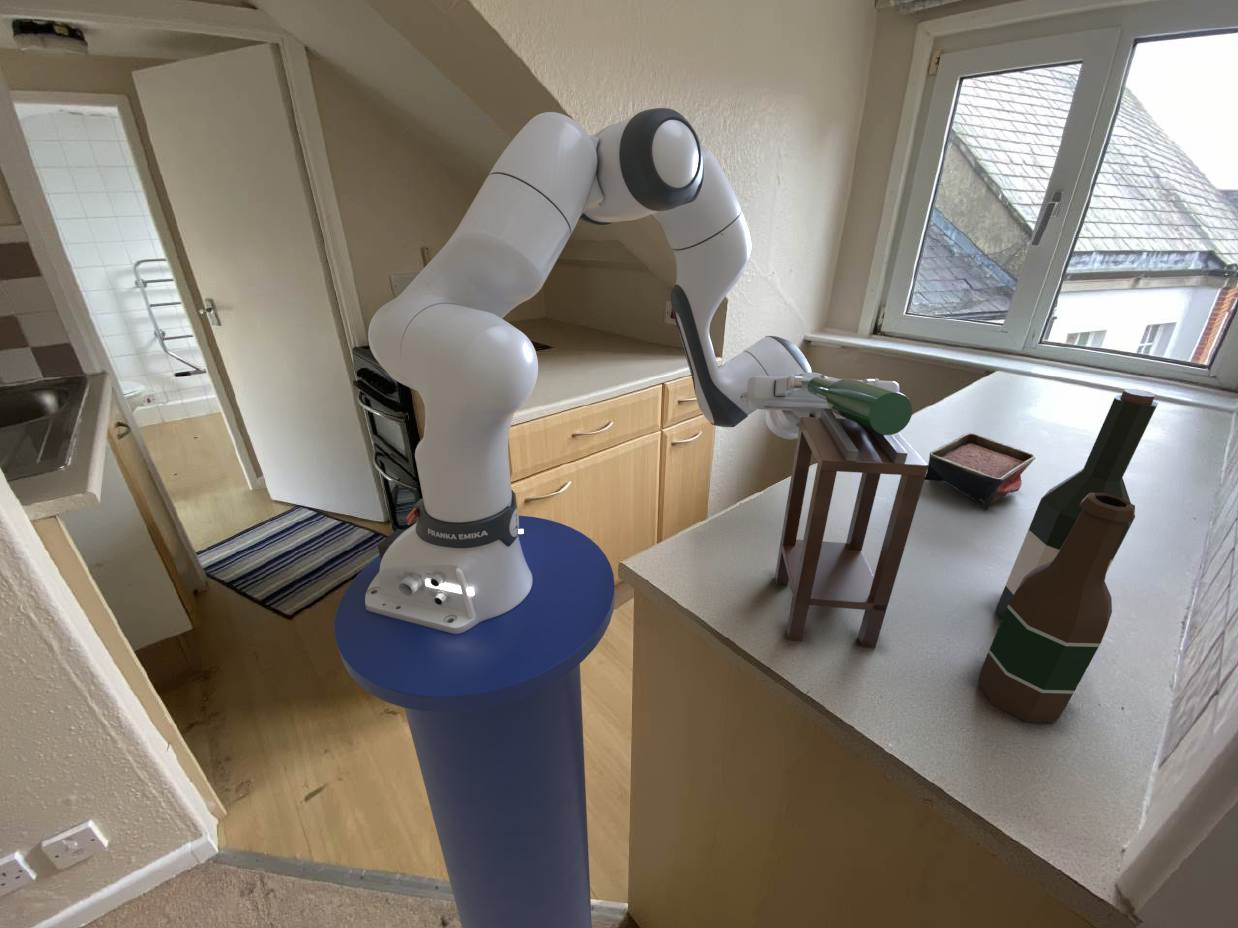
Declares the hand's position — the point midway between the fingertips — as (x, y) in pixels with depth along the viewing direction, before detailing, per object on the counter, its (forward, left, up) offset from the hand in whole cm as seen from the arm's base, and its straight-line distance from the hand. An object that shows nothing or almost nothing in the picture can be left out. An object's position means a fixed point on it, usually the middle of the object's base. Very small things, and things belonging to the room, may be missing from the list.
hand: (834, 382), depth 67 cm
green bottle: (0, -7, -2) cm, 7 cm away
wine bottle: (+26, -11, -27) cm, 39 cm away
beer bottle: (+18, -23, -27) cm, 40 cm away
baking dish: (+34, +25, -27) cm, 50 cm away
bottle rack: (0, -12, -26) cm, 29 cm away
